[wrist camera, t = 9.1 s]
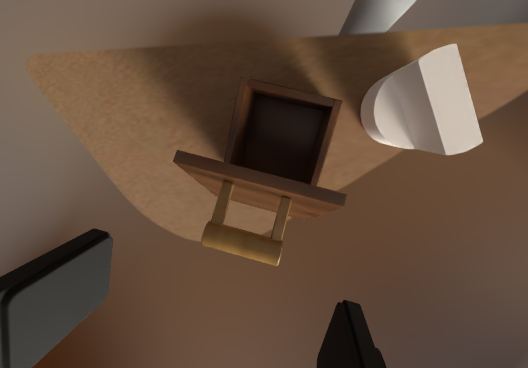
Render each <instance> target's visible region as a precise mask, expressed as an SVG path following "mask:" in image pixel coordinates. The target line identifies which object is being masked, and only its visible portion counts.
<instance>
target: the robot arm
mask: <svg viewBox="0 0 528 368" xmlns="http://www.w3.org/2000/svg"><path fill="white" fill-rule="evenodd" d="M112 244H113V239H112V237H110V234H109V233H108V232H105V231H102V230H98V229H92V230H90V231H88V232H86V233H84V234H82V235H80V236H78V237H76V238H75V239H72V240H70V241H69V242H67V243H65V244H63V245H61V246H59V247H57V248H55V249H53V250H51V251H49V252H47V253H46V254H44V255H42V256H40V257H38V258H36V259H34V260H32V261H30V262H28V263H26V264H25V265H23V266H21V267H19V268H17V269H15V270H13V271H11V272H9V273H7V274H5V275H3V276H1V277H0V368H32V367H33V366H34V365H35V364H36V363H37V362H38V361H39V360H40V359H41V358H43V357H44V356H45V355H46V354H47V353H48V352H49V351H50V350H51V349H52V348H53V347H54V346H56V345H57V344H58V343H59V342H60V341H61V340H62V339H63V338H64V337H65V336H66V335H67V334H69V333H70V332H71V331H72V330H73V329H74V328H75V327H76V326H77V325H78V324H79V323H80V322H82V320H84V319H85V318H86V317H87V316H88V315H89V314H90V313H91V312H92V311H93V310H94V309H95V308H97V307H98V306H99V305H100V304H101V303H102V302H103V301H104V300H105V298H106V297H107V295H108V290H109V279H110V268H111V255H112ZM317 368H386V365H385V362H384V360H383V357H382V354H381V352H380V351H379V349H378V348H375V346H374V343H373V340H372V338H371V335H370V332H369V329H368V326H367V323H366V320H365V318H364V314H363V311H362V309H361V306H360V304H358V303H354V302H351V301H347V300H344V301H343V302H342V303H340V302H338V303H337V305H336V308H335V311H334V314H333V316H332V319H331V322H330V324H329V327H328V330H327V332H326V335H325V338H324V341H323V343H322V346H321V349H320V352H319V354H318V358H317Z"/></svg>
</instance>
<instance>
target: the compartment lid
mask: <svg viewBox="0 0 528 368" xmlns="http://www.w3.org/2000/svg"><path fill="white" fill-rule="evenodd" d="M173 162H174V163H175V164H176V165H178V166H179V167H180V168H181V169H183V170H184V171H185V172H186V173H188V174H189V175H190V176H191V177H193V178H194V179H195V180H196V181H198V182H199V183H200V184H201V185H202V186H204V187H205V188H206V189H207V190H209V191H210V192H211V193H212V194H214V195H215V196H217V197H218V200H217V203H216V206H215V210H214V213H213V216H212V219H211V221H209V222H208V223H207V225H206V227H205V229H204V232H203V235H202V245H204V246H207V247H211V248H214V249H218V250H221V251H225V252H229V253H232V254H236V255H239V256H243V257H246V258H250V259H254V260H257V261H260V262H264V263H268V264H271V265H275V266H277V265H278V263H279V260H280V257H281V253H282V248H283V241H282V237H283V233H284V229H285V225H286V221H287V217H288V216H291V217H295V218H299V219H303V220H306V221H307V220H311V219H313V218H316V217H319V216H321V215H324V214H327V213H329V212H332V211H334V210H337V209H340V208H342V207H344V205H345V200H346V195H347V194H344V193H340V192H337V191H333V190H329V189H325V188H321V187H317V186H314V185H310V184H306V183H302V182H298V181H294V180H291V179H287V178H283V177H279V176H275V175H271V174H268V173H264V172H260V171H256V170H252V169H248V168H244V167H241V166H237V165H233V164H229V163H225V162H221V161H218V160H214V159H210V158H206V157H202V156H198V155H195V154H191V153H187V152H183V151H179V150H177V152H176V154H175V157H174V160H173ZM230 200H232V201H236V202H239V203H243V204H247V205H251V206H254V207H258V208H262V209H265V210H269V211H273V212H277V215H276V219H275V223H274V227H273V231H272V235H271V238H270V237H267V236H263V235H259V234H256V233H252V232H248V231H245V230H241V229H238V228H234V227H230V226H227V225H223V222H224V218H225V215H226V212H227V208H228V205H229V202H230Z"/></svg>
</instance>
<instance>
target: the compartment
mask: <svg viewBox="0 0 528 368" xmlns="http://www.w3.org/2000/svg"><path fill="white" fill-rule="evenodd" d="M342 102H343V101H342V100H337V99H333V98H329V97H325V96H321V95H316V94H312V93H308V92H304V91H300V90H296V89H291V88H287V87H283V86H279V85H275V84H270V83H266V82H262V81H258V80H254V79H248V78H245V77H241V79H240V84H239V89H238V94H237V98H236V103H235V108H234V113H233V118H232V123H231V128H230V133H229V138H228V143H227V148H226V153H225V158H224V162H225V163H229V164H233V165H237V166H241V167H244V168H248V169H252V170H256V171H260V172H264V173H268V174H271V175H275V176H279V177H283V178H287V179H291V180H294V181H298V182H302V183H306V184H310V185H314V186H317V185H318V181H319V178H320V175H321V171H322V168H323V165H324V162H325V158H326V155H327V152H328V148H329V145H330V142H331V138H332V135H333V132H334V128H335V125H336V122H337V119H338V115H339V112H340V109H341V105H342Z"/></svg>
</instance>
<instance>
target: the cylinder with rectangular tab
mask: <svg viewBox="0 0 528 368" xmlns="http://www.w3.org/2000/svg"><path fill="white" fill-rule="evenodd" d="M360 117H361V122H362V125H363V127H364V129H365V131H366V132H367V134H368V135H369V136H370V137H371V138H372V139H374V140H376V141H378V142H379V143H383V144H387V145H391V146H396V147H401V148H405V149H418V150H423V151H429V152H433V153H438V154H443V155H453V154H457V153H462V152H465V151H467V150H470V149H472V148H474V147H475V146H477V145H479V144H481V143H482V142H483V140H482V136H481V132H480V129H479V125H478V121H477V118H476V114H475V110H474V107H473V103H472V99H471V96H470V92H469V88H468V85H467V81H466V77H465V74H464V70H463V66H462V63H461V59H460V55H459V52H458V48H457V44H450V45H447V46H444V47H441V48H437V49H435V50H433V51H431V52H429V53H427V54H426V55H424V56H422V57H420V58H418V59H416V60H415V61H413V62H411V63H409V64H407V65H405V66H403V67H402V68H400V69H398V70H396V71H394V72H392V73H390V74H389V75H387V76H385V77H383V78H382V79H380V80H378V81H377V82H376V83H374V84H373V85H372V86H371V87H370V88H369V90H368V91H367V93H366V95H365V96H364V98H363V101H362V104H361V112H360Z"/></svg>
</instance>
